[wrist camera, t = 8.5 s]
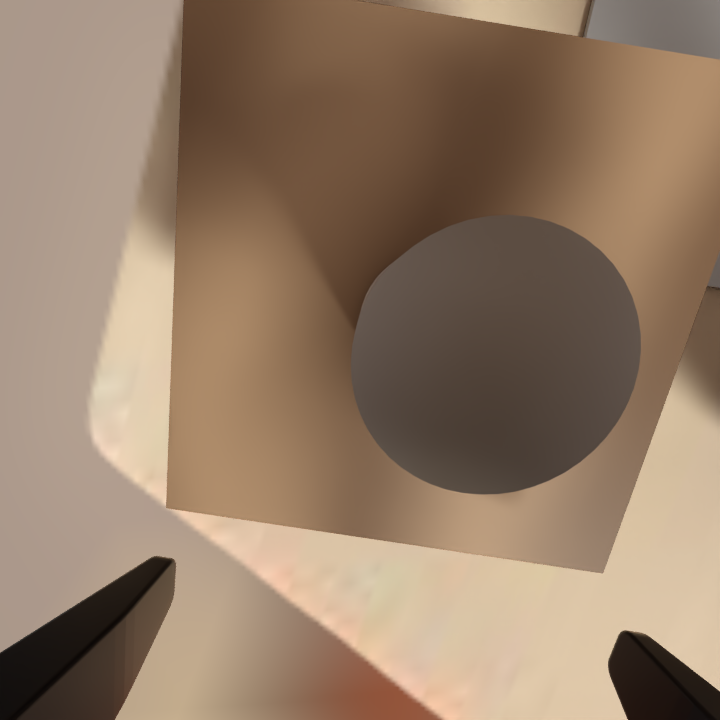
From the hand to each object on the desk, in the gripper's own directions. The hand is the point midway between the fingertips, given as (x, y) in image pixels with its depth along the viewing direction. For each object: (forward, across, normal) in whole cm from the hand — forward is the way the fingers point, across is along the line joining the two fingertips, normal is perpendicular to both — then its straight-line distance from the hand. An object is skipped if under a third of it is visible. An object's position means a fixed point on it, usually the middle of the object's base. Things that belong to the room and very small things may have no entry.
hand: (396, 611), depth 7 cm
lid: (+3, 0, -6) cm, 6 cm away
